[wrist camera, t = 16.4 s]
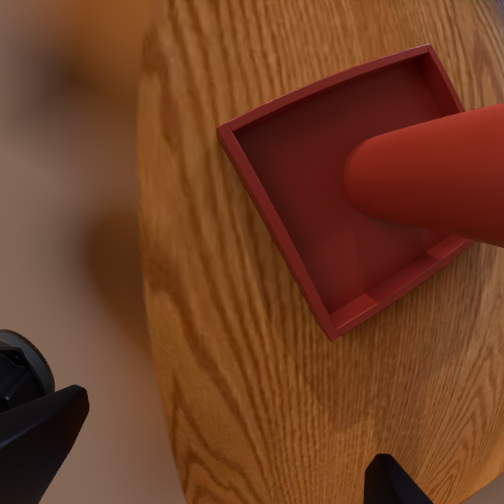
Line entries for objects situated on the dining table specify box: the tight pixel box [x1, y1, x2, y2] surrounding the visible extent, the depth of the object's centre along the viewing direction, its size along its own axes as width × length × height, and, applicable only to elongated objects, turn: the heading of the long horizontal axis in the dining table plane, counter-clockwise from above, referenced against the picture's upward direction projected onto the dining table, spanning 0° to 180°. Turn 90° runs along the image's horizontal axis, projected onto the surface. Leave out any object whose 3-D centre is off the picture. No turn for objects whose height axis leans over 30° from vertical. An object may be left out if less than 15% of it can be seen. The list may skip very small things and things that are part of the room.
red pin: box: [343, 103, 504, 248], centre depth 12 cm, size 5×5×13 cm
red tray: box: [216, 44, 476, 341], centre depth 18 cm, size 15×13×3 cm
